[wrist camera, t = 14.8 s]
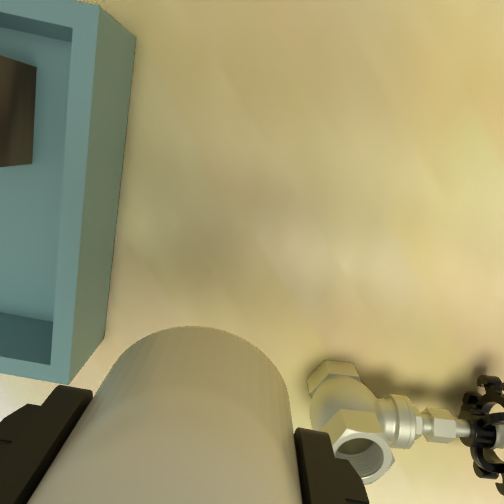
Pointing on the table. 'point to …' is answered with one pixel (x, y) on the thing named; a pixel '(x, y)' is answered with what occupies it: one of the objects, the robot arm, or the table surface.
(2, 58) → the walnut cube
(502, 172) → the table surface
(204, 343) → the ceramic capsule
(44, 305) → the tote
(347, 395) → the valve
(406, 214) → the table surface
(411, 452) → the table surface
